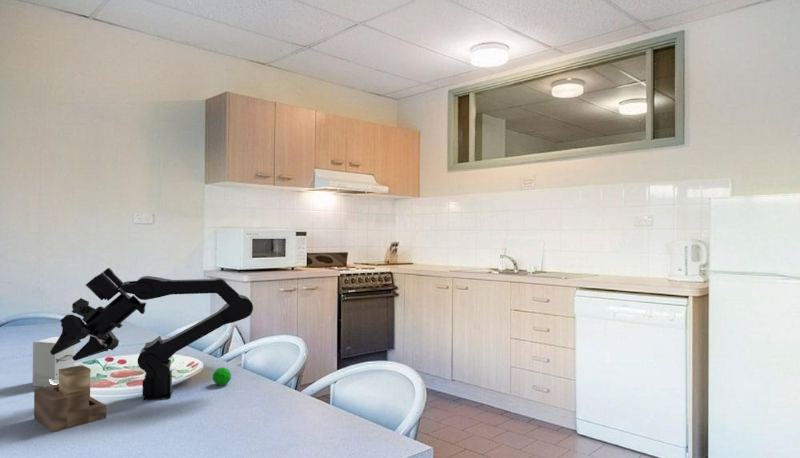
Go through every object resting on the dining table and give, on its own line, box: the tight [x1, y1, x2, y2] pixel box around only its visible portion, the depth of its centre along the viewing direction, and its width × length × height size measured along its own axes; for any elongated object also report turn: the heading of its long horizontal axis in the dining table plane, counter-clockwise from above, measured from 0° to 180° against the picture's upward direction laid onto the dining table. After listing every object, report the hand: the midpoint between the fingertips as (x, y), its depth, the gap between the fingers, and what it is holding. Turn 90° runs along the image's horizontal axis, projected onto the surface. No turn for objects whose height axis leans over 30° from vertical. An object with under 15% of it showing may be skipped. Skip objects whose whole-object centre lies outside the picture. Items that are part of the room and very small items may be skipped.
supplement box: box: [32, 336, 75, 388], centre depth 151 cm, size 7×7×13 cm
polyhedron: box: [212, 367, 232, 387], centre depth 151 cm, size 5×5×5 cm
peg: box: [59, 364, 91, 398], centre depth 125 cm, size 5×5×7 cm
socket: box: [33, 384, 107, 433], centre depth 125 cm, size 11×12×7 cm
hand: (62, 356), depth 133 cm, fingers open, 9 cm apart
